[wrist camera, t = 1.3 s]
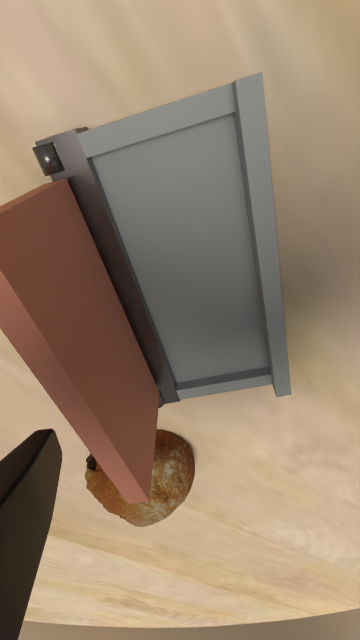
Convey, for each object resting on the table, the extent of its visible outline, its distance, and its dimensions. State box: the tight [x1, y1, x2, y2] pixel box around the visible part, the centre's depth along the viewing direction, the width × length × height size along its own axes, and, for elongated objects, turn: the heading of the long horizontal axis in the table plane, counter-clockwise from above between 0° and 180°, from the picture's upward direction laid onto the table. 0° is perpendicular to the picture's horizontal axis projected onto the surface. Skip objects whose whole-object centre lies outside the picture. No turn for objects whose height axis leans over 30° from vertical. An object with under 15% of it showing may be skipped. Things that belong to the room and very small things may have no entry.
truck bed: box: [77, 72, 291, 399], centre depth 18 cm, size 8×18×3 cm, turn 15°
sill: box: [32, 127, 180, 408], centre depth 19 cm, size 2×18×2 cm, turn 15°
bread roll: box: [85, 429, 195, 527], centre depth 30 cm, size 10×10×8 cm
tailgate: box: [0, 178, 160, 504], centre depth 15 cm, size 2×15×8 cm, turn 15°
